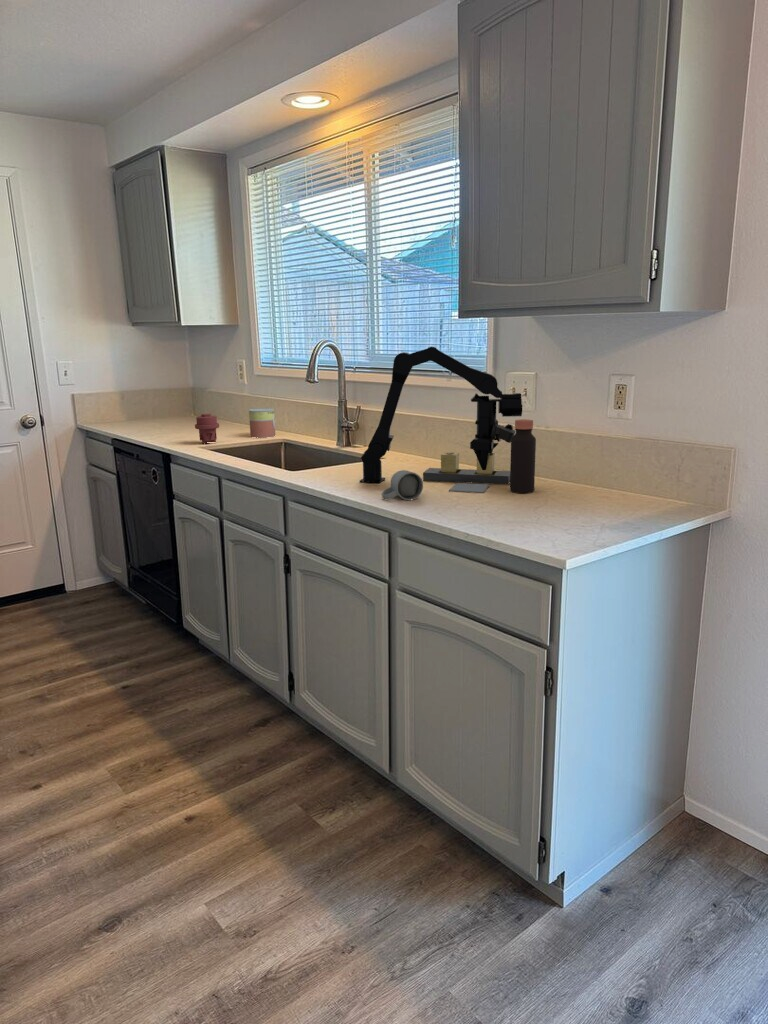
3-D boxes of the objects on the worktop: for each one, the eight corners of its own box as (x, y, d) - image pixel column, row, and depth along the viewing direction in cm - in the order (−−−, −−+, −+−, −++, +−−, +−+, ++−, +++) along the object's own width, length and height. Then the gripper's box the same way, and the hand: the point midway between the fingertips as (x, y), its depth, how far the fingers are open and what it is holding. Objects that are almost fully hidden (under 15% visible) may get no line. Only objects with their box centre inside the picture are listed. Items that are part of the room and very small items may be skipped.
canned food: (277, 437, 314) (275, 410, 311) (251, 438, 312) (249, 411, 309) (274, 434, 325) (272, 407, 322) (249, 435, 322) (247, 409, 319)
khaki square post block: (455, 481, 216) (455, 454, 214) (440, 480, 217) (440, 454, 215) (458, 478, 220) (459, 452, 218) (444, 477, 221) (444, 451, 219)
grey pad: (483, 493, 199) (483, 491, 199) (448, 491, 202) (448, 490, 202) (489, 485, 208) (489, 484, 208) (456, 484, 211) (456, 483, 211)
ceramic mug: (413, 493, 201) (412, 466, 199) (423, 499, 193) (423, 471, 191) (377, 497, 198) (376, 470, 196) (387, 503, 190) (385, 475, 188)
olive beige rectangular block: (491, 481, 212) (492, 455, 210) (476, 481, 214) (476, 454, 212) (494, 478, 216) (494, 452, 214) (479, 478, 218) (479, 451, 216)
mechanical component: (198, 445, 295) (194, 442, 304) (222, 443, 299) (217, 440, 308) (196, 416, 292) (191, 413, 301) (220, 414, 296) (215, 412, 305)
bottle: (531, 494, 196) (533, 422, 191) (507, 492, 199) (508, 421, 194) (536, 489, 202) (539, 419, 197) (513, 487, 205) (515, 418, 200)
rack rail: (508, 484, 209) (508, 476, 209) (423, 480, 217) (423, 472, 216) (512, 479, 217) (512, 471, 216) (429, 475, 224) (429, 467, 224)
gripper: (509, 421, 199) (507, 475, 203) (517, 413, 217) (516, 464, 220) (470, 420, 203) (469, 473, 206) (481, 413, 220) (480, 462, 224)
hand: (485, 468), depth 214 cm, fingers closed on olive beige rectangular block, 5 cm apart
